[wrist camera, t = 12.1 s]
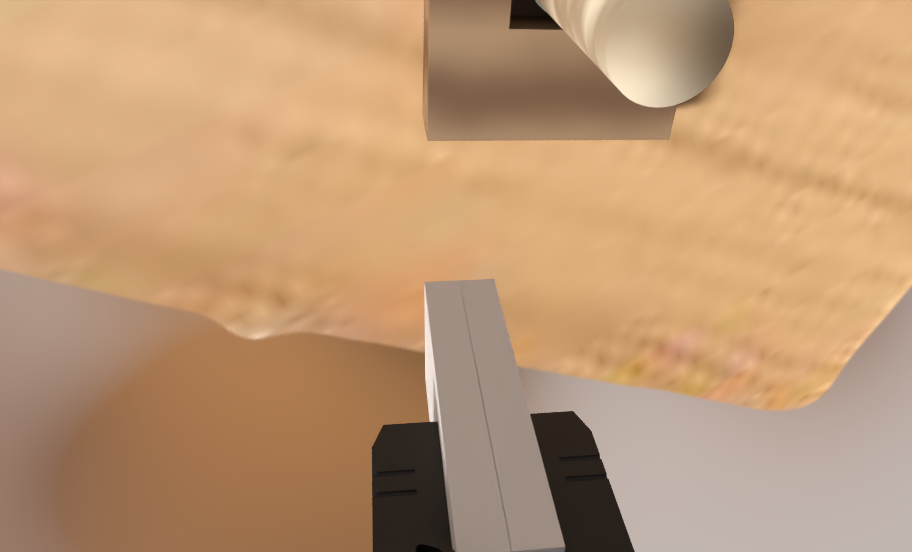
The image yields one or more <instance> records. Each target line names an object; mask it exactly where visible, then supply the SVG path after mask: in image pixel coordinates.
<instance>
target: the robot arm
mask: <svg viewBox="0 0 912 552" xmlns="http://www.w3.org/2000/svg"><path fill="white" fill-rule="evenodd" d="M425 379H426V388H427V398H428V408H429V418H430V422H422V423H407V424H391V425H383V427H382V429H381V431H380V433H379V435H378V437H377V439H376V441H375V443H374V445H373V447H372V495H373V498H372V501H373V503H372V505H373V552H635V551H634V549H633V546H632V544H631V541H630V538H629V535H628V532H627V530H626V527H625V524H624V521H623V518H622V516H621V513H620V510H619V507H618V504H617V502H616V499H615V496H614V493H613V490H612V488H611V485H610V482H609V479H607V476H606V471H605V468H604V465H603V463H602V460H601V459H600V454H599V451H598V448H597V446H596V443H595V440H594V437H593V435H592V432H591V430H590V429H589V428H588V427H587V426H586V425H585V424H584V423H583V421H582V420H581V419H580V418H579V417H578V416H577V415H576V414H575V413H574V412H573V411H568V412H552V413H538V414H530V412H529V409H528V405H527V401H526V398H525V394H524V390H523V386H522V382H521V379H520V375H519V371H518V367H517V364H516V360H515V356H514V352H513V349H512V345H511V341H510V337H509V334H508V330H507V326H506V322H505V319H504V315H503V311H502V307H501V304H500V300H499V296H498V292H497V289H496V285H495V281H494V279H484V280H462V281H440V282H425Z"/></svg>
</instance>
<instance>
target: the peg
mask: <svg viewBox="0 0 912 552" xmlns="http://www.w3.org/2000/svg"><path fill="white" fill-rule="evenodd" d="M535 1H536V2H537V4H538V5H539V6H540V7H541V8H542V9H543V10H544V11H546V12H547V13H548V14H549V15H550V16H551V17H552V18H553V19H554V20H555V21H556V23H557V24H558V25H559V26H560V27H561V28H562V29H563V30H564V31H565V32H566V33H567V34H568V36H569V37H570V38H571V39H572V40H573V41H574V42H575V43H576V44H577V45H578V46H579V47H580V48H581V50H582V51H583V52H584V53H585V54H586V55H587V56H588V57H589V58H590V59H591V60H592V61H593V62H594V64H595V65H596V66H597V67H598V68H599V69H600V70H601V71H602V72H603V73H604V74H605V75H606V76H607V78H608V79H609V80H610V81H611V82H612V83H613V84H614V85H615V86H616V87H617V88H618V89H619V90H620V91H621V93H622V94H623V95H624V96H626V97H627V98H628V99H630V100H631V101H633V102H635V103H637V104H640V105H643V106H647V107H656V108H659V107H668V106H674V105H677V104H680V103H682V102H685V101H687V100H689V99H691V98H692V97H694V96H696V95H697V94H699V93H700V92H701V91H703V90H704V89H705V88H706V87H707V86H708V85H709V84H710V83H711V82H712V81H713V80H714V79H715V78H716V76H717V75H718V74H719V72H720V71H721V69H722V68H723V66H724V64H725V62H726V60H727V58H728V56H729V53H730V50H731V47H732V42H733V36H734V20H733V15H732V11H731V8H730V5H729V3H728V2H727V0H535Z"/></svg>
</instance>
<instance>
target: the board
mask: <svg viewBox="0 0 912 552" xmlns="http://www.w3.org/2000/svg"><path fill="white" fill-rule="evenodd" d="M676 106H677V105H674V106H668V107H659V108H656V107H647V106H643V105H640V104H637V103H635V102H633V101H631V100H630V99H628V98H627V97H626V96H624V95H623V94H622V93H621V91H620V90H619V89H618V88H617V87H616V86H615V85H614V84H613V83H612V82H611V81H610V80H609V79H608V78H607V76H606V75H605V74H604V73H603V72H602V71H601V70H600V69H599V68H598V67H597V66H596V65H595V64H594V62H593V61H592V60H591V59H590V58H589V57H588V56H587V55H586V54H585V53H584V52H583V51H582V50H581V48H580V47H579V46H578V45H577V44H576V43H575V42H574V41H573V40H572V39H571V38H570V37H569V36H568V34H567V33H566V32H565V31H564V30H563V29H562V28H561V27H560V26H559V25H558V24H557V23H556V21H555V20H554V19H553V18H552V17H551V16H550V15H549V14H548V13H547V12H546V11H544V10H543V9H542V8H541V7H540V6H539V5H538V4H537V2H536V1H535V0H424V61H423V118H424V124H425V130H426V135H427V141H491V140H669V138H670V133H671V129H672V124H673V120H674V115H675V111H676Z"/></svg>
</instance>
